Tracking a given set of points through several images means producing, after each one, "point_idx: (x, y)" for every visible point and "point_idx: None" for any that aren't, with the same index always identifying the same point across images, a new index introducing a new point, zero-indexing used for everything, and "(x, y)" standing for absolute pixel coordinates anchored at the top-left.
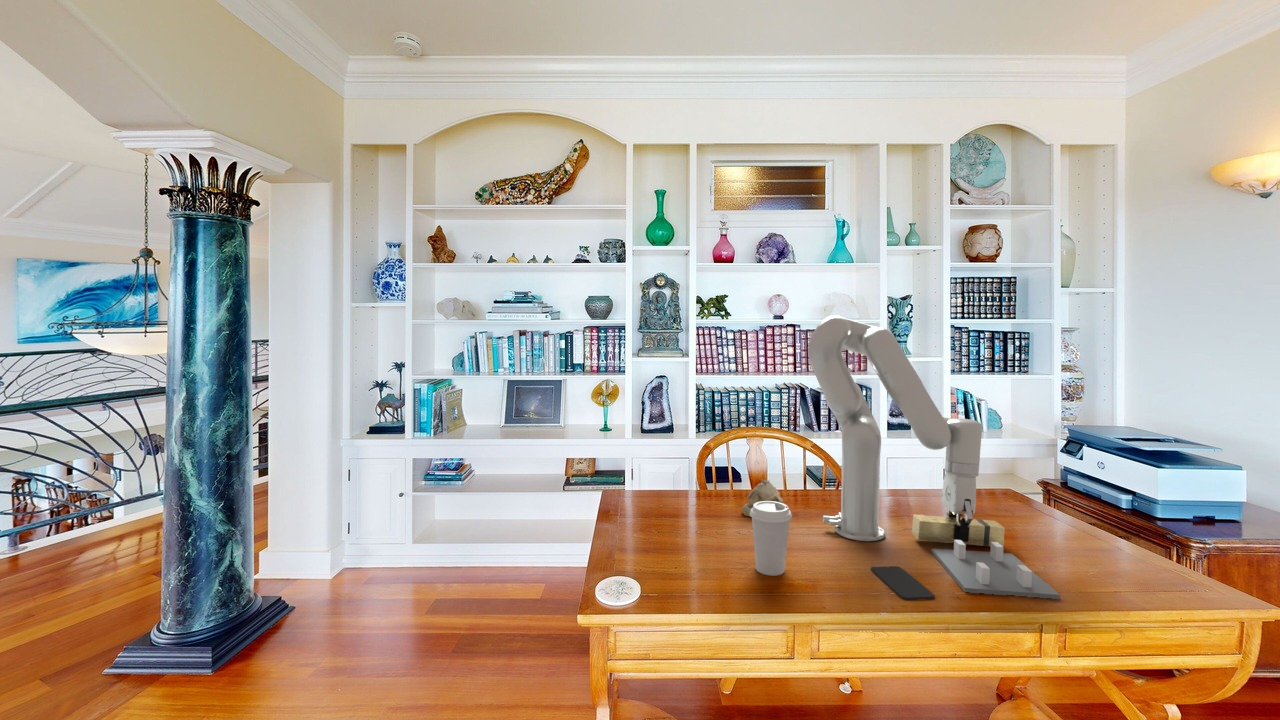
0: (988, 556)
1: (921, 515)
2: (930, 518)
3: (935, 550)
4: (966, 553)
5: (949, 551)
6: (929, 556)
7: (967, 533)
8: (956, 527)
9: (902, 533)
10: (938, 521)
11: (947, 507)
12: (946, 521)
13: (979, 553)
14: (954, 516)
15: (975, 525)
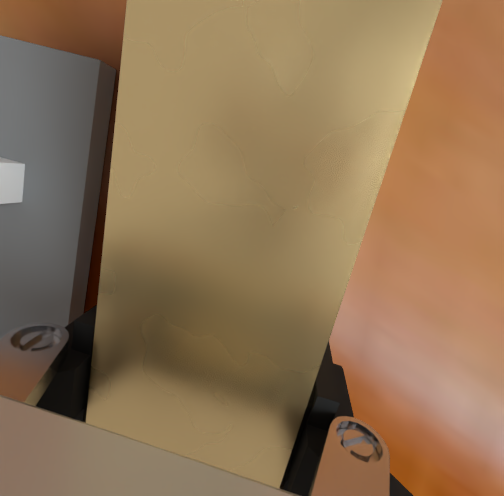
0: (3, 333)
1: (400, 61)
2: (263, 138)
3: (65, 67)
4: (32, 243)
5: (56, 158)
6: (57, 17)
7: None
8: (87, 318)
9: (483, 40)
10: (151, 183)
11: (97, 454)
12: (162, 288)
13: (39, 315)
14: (297, 471)
15: None
